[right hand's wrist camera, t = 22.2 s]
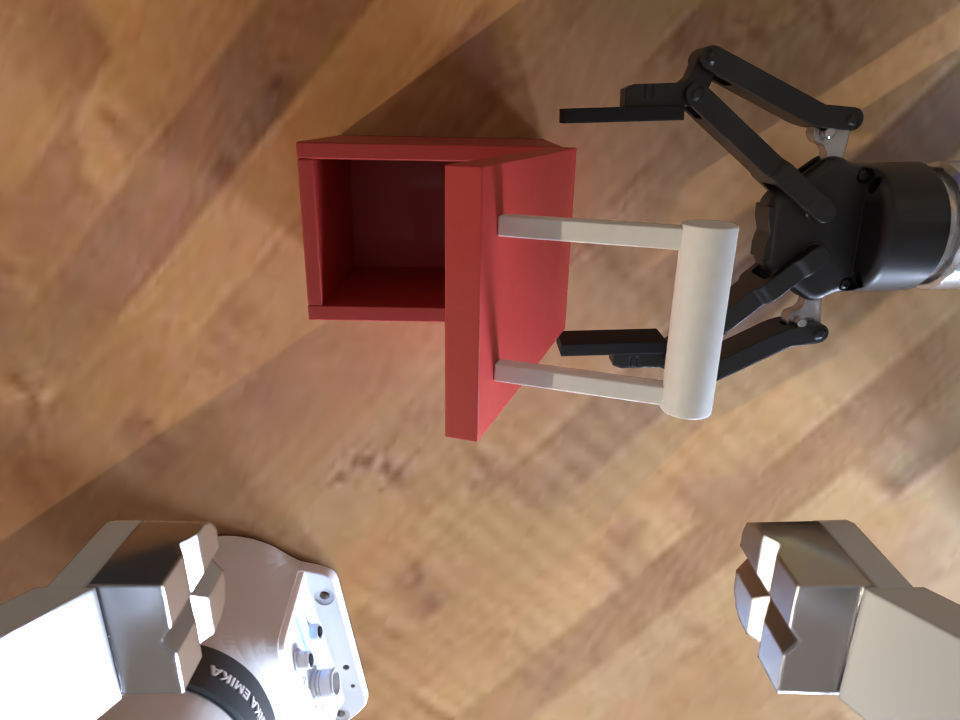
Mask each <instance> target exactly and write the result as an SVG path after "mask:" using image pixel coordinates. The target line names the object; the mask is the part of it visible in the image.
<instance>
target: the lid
mask: <svg viewBox="0 0 960 720" xmlns="http://www.w3.org/2000/svg"><path fill="white" fill-rule="evenodd" d="M575 164H576V148H567V147H550V148H544V149H538V150H532V151H526V152H520V153H514V154H508V155H502V156H496V157H490V158H484V159H478V160H472V161H466V162H460V163H454V164H448V165H445V436H447V437H452V438H458V439H464V440H469V441H475V442H478V440H479V439H480V438H481V437H482V435H483V434H484V433H485V431H486V430H487V429H488V428H489V426H490V425H491V424H492V422H493V421H494V420H495V418H496V417H497V416H498V415H499V413H500V412H501V411H502V409H503V408H504V407H505V405H506V404H507V403H508V402H509V400H510V399H511V398H512V396H513V395H514V394H515V393H516V391H517V390H518V389H519V387H520V386H521V385H526V386H533V387H540V388H547V389H553V390H560V391H567V392H574V393H581V394H588V395H595V396H602V397H608V398H615V399H622V400H629V401H636V402H643V403H650V404H657V405H660V407H661V409H662V410H663V411H664V412H665V413H667V414H669V415H671V416H674V417H677V418H682V419H690V420H697V419H704V418H707V417H708V416H710V414H711V412H712V406H713V399H714V393H715V386H716V379H717V373H718V366H719V359H720V353H721V346H722V339H723V333H724V326H725V319H726V313H727V306H728V299H729V293H730V286H731V279H732V273H733V266H734V259H735V253H736V246H737V239H738V233H739V225H737V224H734V223H730V222H725V221H716V220H688V221H684V222H683V223H682V225H671V224H655V223H640V222H625V221H610V220H595V219H579V218H572V211H573V195H574V179H575ZM570 242H581V243H594V244H607V245H620V246H633V247H646V248H659V249H672V250H679V252H678V260H677V269H676V277H675V285H674V294H673V302H672V310H671V318H670V327H669V335H668V343H667V352H666V360H665V368H664V376H663V381H661V380H654V379H646V378H639V377H632V376H624V375H617V374H609V373H602V372H594V371H587V370H580V369H572V368H565V367H557V366H550V365H542V364H538V363H539V361H540V360H541V359H542V358H543V356H544V355H545V354H546V352H547V351H548V350H549V348H550V347H551V346H552V345H553V343H554V342H555V341H556V339H557V338H558V337H559V336H560V334H561V333H562V332H563V330H564V329H565V320H566V304H567V289H568V273H569V257H570Z"/></svg>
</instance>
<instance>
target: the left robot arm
mask: <svg viewBox="0 0 960 720" xmlns="http://www.w3.org/2000/svg"><path fill="white" fill-rule="evenodd" d="M711 81H712V82H714V83H716V84H718V85H720V86H722V87H723V88H725V89H727V90H729V91H731V92H733V93H735V94H737V95H738V96H740V97H742V98H744V99H746V100H748V101H750V102H752V103H753V104H755V105H757V106H759V107H761V108H763V109H765V110H766V111H768V112H770V113H772V114H774V115H776V116H778V117H780V118H781V119H783V120H785V121H787V122H789V123H792V124H794V125H797V126H801V127H807V130H806V136H807V139H808V140H809V141H810V142H812V143H815V144H816V145H817V146H818V148H819V151H820V152H819V156H817V157H815V158H813V159H811V160H810V161H808V162H807V163H806V164H804V165H803V166H801V167H800V168H799V169H796V168H795V167H794V166H793V165H792V164H790V163H789V162H787V161H786V160H784V159H783V158H781V157H780V156H779V155H778V154H777V153H776V152H775V151H774V150H773V149H772V148H771V147H770V146H769V145H768V144H767V143H766V142H765V141H763V140H762V139H761V138H760V137H759V136H758V135H757V134H756V133H755V132H754V131H753V130H752V129H751V128H750V127H749V126H748V125H747V124H746V123H745V122H744V121H743V120H742V119H740V118H739V117H738V116H737V115H736V114H735V113H734V112H733V111H732V110H731V109H730V108H729V107H728V106H727V105H726V104H725V103H724V102H723V101H722V100H721V99H720V98H718V97H717V96H716V95H715V94H714V93H713V92H712V91H711V90H710V89H709V86H710V83H711ZM684 111H685V112H687V113H688V114H689V115H690V116H691V117H692V118H693V119H694V120H695V121H696V122H697V123H698V124H699V125H700V126H701V127H703V128H704V129H705V130H706V131H707V132H708V133H709V134H710V135H711V136H712V137H713V138H714V139H715V140H716V141H718V142H719V143H720V144H721V145H722V146H723V147H724V148H725V149H726V150H727V151H728V152H729V153H730V154H731V155H732V156H734V157H735V158H736V159H737V160H738V161H739V162H740V163H741V164H742V165H743V166H744V167H745V168H746V169H747V170H749V171H750V173H751V175H752V176H753V177H754V178H755V179H756V180H757V181H758V182H759V183H760V184H761V185H762V186H763V187H764V188H765V189H766V190H768V191H767V192H766V193H765V194H764V196H763V197H762V199H761V201H760V202H757V203H756V210H755V219H756V225H757V229H756V232H755V234H754V237H753V240H752V245H751V254H753V255H754V258H755V261H756V263H755V264H754V265H752V266H751V267H750V268H749V269H747V270H746V271H745V272H744V273H742V274H741V276H740V278H739V280H738V281H737V282H736V283H735V284H733V285H732V286H731V287H730V293H729V299H728V306H727V313H726V319H725V326H724V333H723V335H725V334H726V333H727V332H729V331H730V330H731V329H733V328H734V327H735V326H736V325H738V324H739V323H740V322H742V321H743V320H744V319H746V318H747V317H748V316H750V315H751V314H752V313H753V312H755V311H756V310H757V309H759V308H760V307H761V306H763V305H764V304H768V303H772V302H774V301H775V300H777V299H778V298H779V297H781V296H782V295H783V294H785V293H786V292H787V291H789V290H791V291H792V292H794V293H795V294H797V295H799V298H798V301H797V303H796V304H795V305H793V306H792V307H789V308H787V309H784V310H783V311H782V313H781V317H775V318H772V319H769V320H766V321H764V322H761V323H759V324H757V325H755V326H753V327H751V328H749V329H747V330H744V331H742V332H740V333H738V334H736V335H734V336H732V337H730V338H728V339H725V340H723V341H722V346H721V353H720V359H719V366H718V373H717V379H716V381H718V380H720V379H722V378H724V377H727V376H729V375H731V374H733V373H735V372H737V371H740V370H742V369H744V368H746V367H748V366H750V365H752V364H755V363H757V362H759V361H761V360H763V359H765V358H768V357H770V356H772V355H774V354H776V353H778V352H780V351H783V350H785V349H787V348H789V347H792V346H800V345H807V344H815V343H820V342H823V341H824V340H825V339H826V338H827V336H828V333H829V332H828V329H827V327H826V326H824V325H823V324H821V298H824V297H825V296H827V295H829V294H832V293H835V292H839V291H880V290H907V289H911V288H917V289H952V288H960V161H935V162H929V163H926V164H924V163H921V162H885V163H851V162H848V161H847V160H845V159H844V158H843V157H844V153H845V149H846V146H847V142H848V138H849V134H850V130H855V129H857V128H858V127H859V126H860V125H861V124H862V121H863V113H862V111H861V110H860V109H858V108H855V107H845V106H834V105H825V104H823V103H822V102H820V101H818V100H816V99H814V98H812V97H811V96H809V95H807V94H805V93H803V92H801V91H799V90H798V89H796V88H794V87H792V86H790V85H788V84H787V83H785V82H783V81H781V80H779V79H777V78H776V77H774V76H772V75H770V74H768V73H766V72H765V71H763V70H761V69H759V68H757V67H755V66H754V65H752V64H750V63H748V62H746V61H744V60H742V59H741V58H739V57H737V56H735V55H733V54H731V53H730V52H728V51H726V50H724V49H722V48H720V47H719V46H715V45H713V46H708V47H705V48H701V49H698V50H695V51H694V52H692V53H691V55H690V56H689V59H688V66H687V69H686V71H685V74H684V76H683V77H682V78H681V80H679V81H678V82H676V83H659V84H633V85H629V86H627V87H625V88H622V89H621V93H620V107H608V108H573V109H560V123H593V122H628V121H663V120H684ZM667 343H668V336H667V337H666V338H664V337H663V336H662V335H661V334H660V332H659V331H658V330H657V329H624V330H585V331H563V332H562V333H561V334H560V336H559V337H558V338H557V345H558V348H559V351H560V354H561V356H585V355H609V358H610V360H611V362H612V364H613V365H614V366H616V367H619V368H636V367H637V368H644V367H661V368H665V360H666V352H667Z"/></svg>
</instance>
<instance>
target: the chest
mask: <svg viewBox="0 0 960 720" xmlns="http://www.w3.org/2000/svg"><path fill="white" fill-rule="evenodd" d="M296 147H297V157H298V158H299V159H298V173H299V187H300V200H301V214H302V227H303V241H304V255H305V268H306V282H307V295H308V304H309V306H308V312H309V319H310V320H364V321H423V322H445V165H448V164H454V163H460V162H466V161H472V160H478V159H484V158H490V157H496V156H502V155H508V154H514V153H520V152H526V151H532V150H538V149H544V148H550V147H561V146H558V145H556V144H553V143H551V142H548V141H546V140H544V139H519V138H465V137H411V136H356V135H338V136H332V137H325V138H319V139H313V140H306V141H300V142H297V143H296Z"/></svg>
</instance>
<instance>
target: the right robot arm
mask: <svg viewBox="0 0 960 720" xmlns="http://www.w3.org/2000/svg"><path fill="white" fill-rule="evenodd" d="M740 546H741V548H742V550H743V551H744V553H745V555H746V556H747V558H748V559H747V560H746V561H745V562H744V563H743V564H742V565H741V566H740V567H739V568H738V569H737V570H736V576H735V584H734V594H735V605H736V610H737V613H738V617H739V620H740V622H741V624H742V626H743V628H744V630H745V632H746V634H747V635H749V636H750V637H752V638H753V639H755V640H756V641H757V642H759V643H760V646H759V652H758V658H759V660H760V662H761V664H762V666H763V668H764V670H765V671H766V673H767V675H768V677H769V679H770V681H771V683H772V685H773V687H774V689H775V691H776V693H789V694H825V695H838V698H839V699H840V700H841V701H842V702H844V703H845V704H846V705H847V706H848V707H850V708H851V709H852V710H853V711H854V712H856V713H857V714H858V715H859V716H861V717H862V718H863V719H864V720H960V605H959V604H957V603H955V602H953V601H951V600H949V599H947V598H945V597H943V596H941V595H939V594H937V593H935V592H933V591H930V590H928V589H926V588H924V587H912V585H911V584H910V583H909V582H908V581H907V580H906V579H905V578H904V577H903V576H902V575H901V573H900V572H899V571H898V570H897V569H896V568H895V567H894V566H893V565H892V564H891V563H890V562H889V560H888V559H887V558H886V557H885V556H884V555H883V554H882V553H881V552H880V551H879V550H878V548H877V547H876V546H875V545H874V544H873V543H872V542H871V541H870V540H869V539H868V538H867V537H866V535H865V534H864V533H863V532H862V531H861V530H860V529H859V528H858V527H857V526H856V525H855V524H854V523H852V522H850V521H848V520H820V521H801V522H749V523H746V526H745V528H744V530H743V532H742V538H741V544H740ZM322 591H326V592H328V593H329V594H325V593H323V592H322ZM367 699H368V689H367V685H366V681H365V678H364V674H363V670H362V666H361V662H360V659H359V655H358V651H357V647H356V644H355V640H354V636H353V632H352V628H351V625H350V621H349V617H348V613H347V609H346V606H345V602H344V598H343V594H342V591H341V587H340V583H339V579H338V576H337V574H336V573H335V572H334V571H333V570H332V569H330V568H328V567H326V566H322V565H318V564H314V563H309V562H303V561H300V560H297V559H295V558H293V557H291V556H289V555H288V554H286V553H284V552H283V551H281V550H279V549H277V548H275V547H273V546H271V545H269V544H266V543H264V542H261V541H258V540H254V539H250V538H245V537H239V536H218V534H217V529H216V527H215V526H214V525H213V524H212V523H211V522H208V521H160V520H147V521H144V520H114V521H111V522H107V523H106V524H105V525H104V526H103V527H102V528H101V529H100V530H99V531H98V532H97V533H96V534H95V535H94V537H93V538H92V539H91V540H90V541H89V542H88V543H87V544H86V545H85V546H84V547H83V549H82V550H81V551H80V552H79V553H78V554H77V555H76V556H75V557H74V558H73V559H72V560H71V562H70V563H69V564H68V565H67V566H66V567H65V568H64V569H63V570H62V571H61V572H60V573H59V575H58V576H57V577H56V578H55V579H54V580H53V581H52V582H51V583H50V584H49V585H48V586H47V587H36V588H34V589H32V590H30V591H27V592H25V593H23V594H21V595H19V596H17V597H15V598H13V599H11V600H9V601H7V602H5V603H3V604H1V605H0V720H350V719H351V718H352V717H354V716H355V715H356V714H357V713H358V712H360V711H361V709H362V708H363V707H364V706H365V705H366V702H367ZM342 710H343V711H342Z"/></svg>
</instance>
